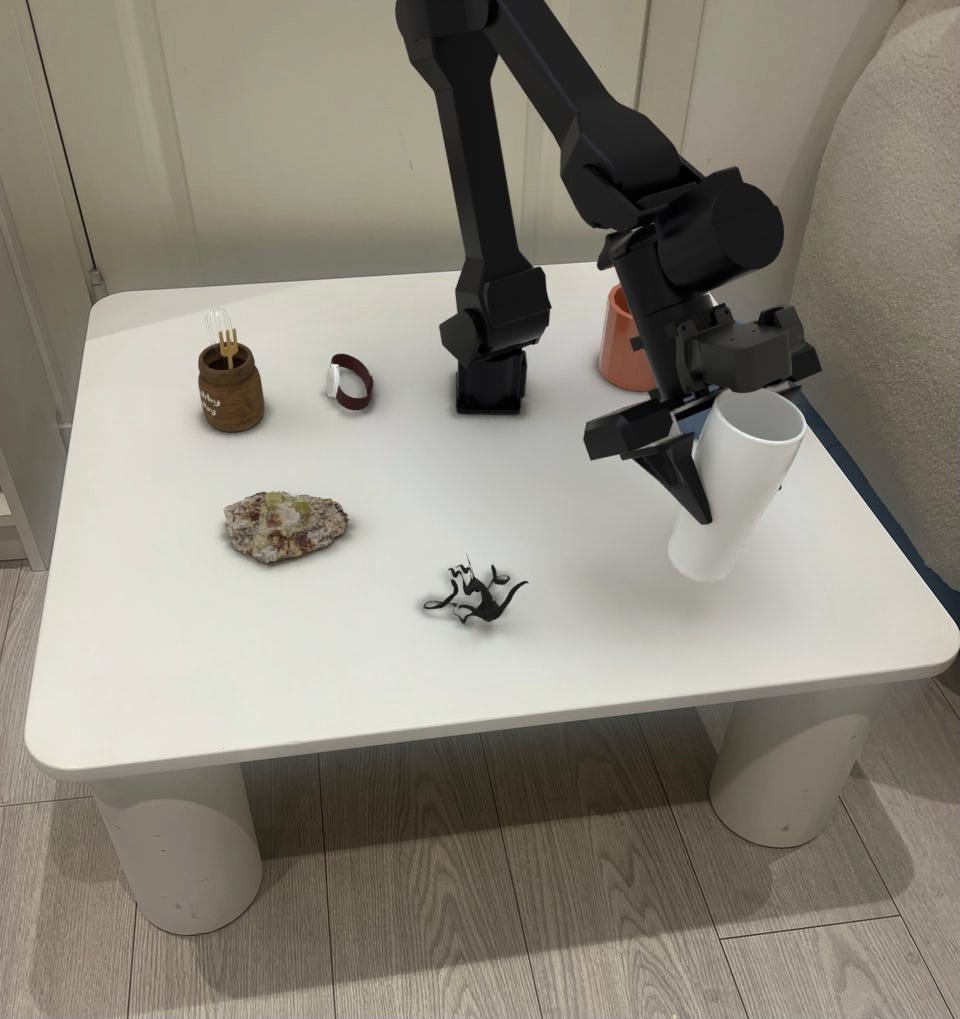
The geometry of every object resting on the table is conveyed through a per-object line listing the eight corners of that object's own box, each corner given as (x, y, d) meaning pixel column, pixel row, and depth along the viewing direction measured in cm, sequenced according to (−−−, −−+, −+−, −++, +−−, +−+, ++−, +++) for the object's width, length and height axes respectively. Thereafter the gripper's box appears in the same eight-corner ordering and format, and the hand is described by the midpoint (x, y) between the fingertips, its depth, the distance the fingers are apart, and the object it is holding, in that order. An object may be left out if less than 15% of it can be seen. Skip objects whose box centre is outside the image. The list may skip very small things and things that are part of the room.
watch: (321, 373, 105) (318, 344, 103) (365, 367, 106) (364, 338, 104) (334, 419, 100) (332, 390, 98) (381, 412, 101) (379, 383, 99)
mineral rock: (218, 554, 83) (222, 472, 87) (224, 578, 87) (227, 497, 91) (350, 550, 85) (347, 469, 89) (350, 573, 89) (348, 494, 92)
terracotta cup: (602, 390, 105) (613, 321, 99) (595, 345, 111) (604, 278, 105) (679, 392, 105) (694, 323, 99) (667, 347, 111) (681, 279, 105)
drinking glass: (740, 601, 78) (812, 453, 68) (654, 581, 78) (713, 430, 68) (738, 542, 83) (805, 396, 73) (658, 523, 83) (713, 375, 73)
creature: (411, 600, 85) (453, 653, 79) (404, 548, 82) (447, 599, 76) (493, 570, 88) (540, 619, 82) (490, 518, 85) (537, 566, 79)
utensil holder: (255, 390, 103) (240, 287, 95) (274, 426, 99) (260, 323, 91) (197, 404, 101) (177, 301, 93) (214, 442, 97) (194, 337, 89)
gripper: (631, 316, 63) (715, 550, 64) (841, 242, 70) (911, 452, 72) (547, 354, 73) (620, 555, 74) (738, 285, 81) (802, 469, 82)
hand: (741, 507), depth 75 cm, fingers closed on drinking glass, 6 cm apart
